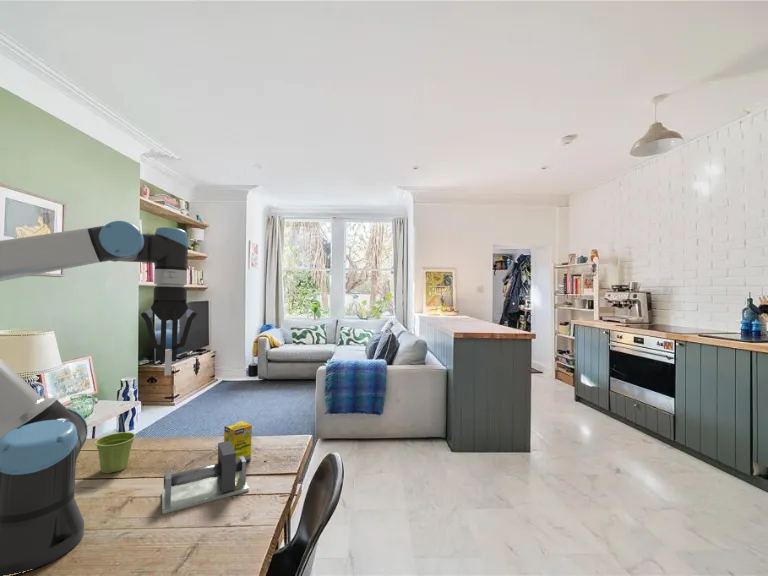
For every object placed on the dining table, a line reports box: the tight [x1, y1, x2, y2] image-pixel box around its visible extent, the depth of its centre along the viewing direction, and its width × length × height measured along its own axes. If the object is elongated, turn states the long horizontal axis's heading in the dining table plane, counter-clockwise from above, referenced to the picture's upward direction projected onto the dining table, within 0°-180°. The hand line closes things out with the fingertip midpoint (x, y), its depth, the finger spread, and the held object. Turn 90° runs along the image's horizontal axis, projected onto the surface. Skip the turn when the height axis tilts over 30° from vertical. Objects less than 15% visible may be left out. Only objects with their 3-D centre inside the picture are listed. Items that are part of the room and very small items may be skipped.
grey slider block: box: [217, 441, 236, 493], centre depth 93 cm, size 3×9×9 cm, turn 33°
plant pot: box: [94, 431, 137, 474], centre depth 102 cm, size 9×9×9 cm
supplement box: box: [223, 420, 253, 463], centre depth 107 cm, size 6×6×11 cm
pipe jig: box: [161, 456, 250, 515], centre depth 90 cm, size 19×10×7 cm, turn 123°
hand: (167, 374), depth 94 cm, fingers closed
